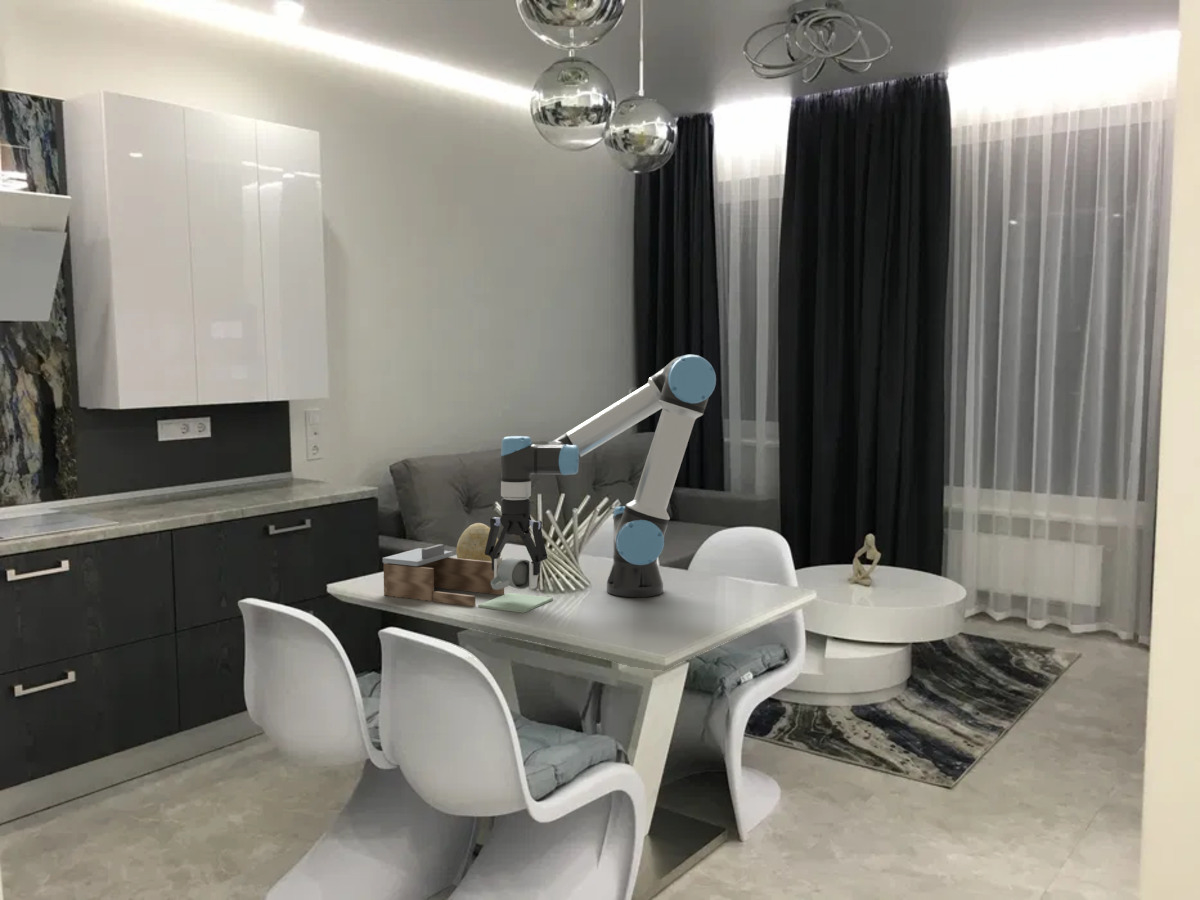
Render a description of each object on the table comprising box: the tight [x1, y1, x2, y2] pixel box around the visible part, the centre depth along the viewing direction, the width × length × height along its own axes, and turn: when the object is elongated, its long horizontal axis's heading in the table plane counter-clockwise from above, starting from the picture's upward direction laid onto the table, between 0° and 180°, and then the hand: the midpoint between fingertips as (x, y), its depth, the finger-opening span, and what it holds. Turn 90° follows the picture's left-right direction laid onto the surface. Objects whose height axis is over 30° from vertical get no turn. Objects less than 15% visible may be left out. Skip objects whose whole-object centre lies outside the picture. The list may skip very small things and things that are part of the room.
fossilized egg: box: [455, 522, 502, 562], centre depth 287 cm, size 13×13×15 cm
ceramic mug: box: [491, 557, 532, 590], centre depth 251 cm, size 10×8×7 cm
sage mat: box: [477, 592, 554, 614], centre depth 253 cm, size 13×15×1 cm
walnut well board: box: [383, 556, 505, 607], centre depth 262 cm, size 28×15×8 cm, turn 65°
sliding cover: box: [382, 543, 454, 566], centre depth 265 cm, size 11×16×4 cm
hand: (515, 585), depth 252 cm, fingers closed on ceramic mug, 9 cm apart
